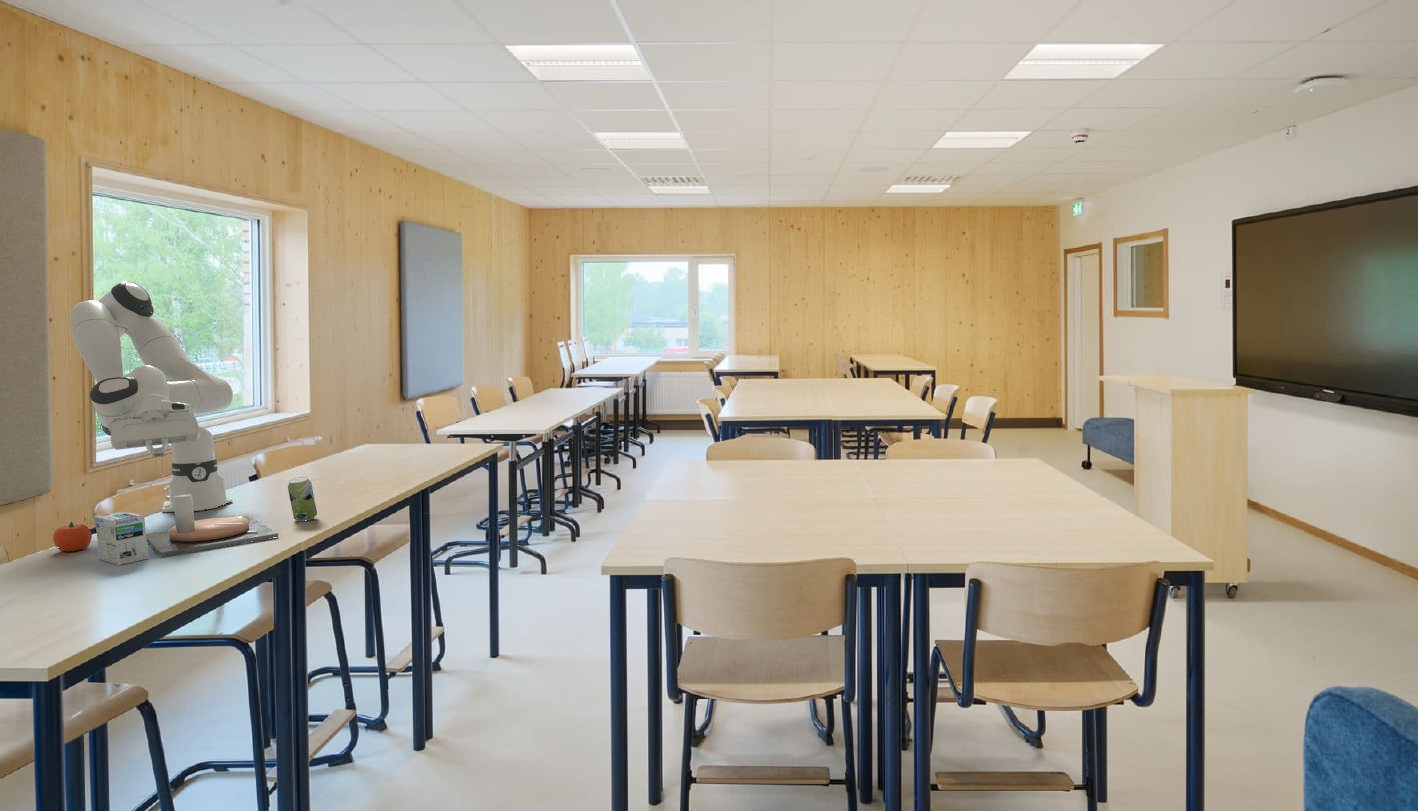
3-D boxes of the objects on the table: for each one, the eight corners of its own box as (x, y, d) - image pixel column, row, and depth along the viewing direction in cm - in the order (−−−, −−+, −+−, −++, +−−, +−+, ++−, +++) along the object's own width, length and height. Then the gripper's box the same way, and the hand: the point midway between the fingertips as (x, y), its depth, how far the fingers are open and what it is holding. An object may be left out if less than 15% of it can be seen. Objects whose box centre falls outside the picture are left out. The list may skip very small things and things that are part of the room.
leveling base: (143, 538, 234) (142, 528, 234) (252, 521, 250) (252, 512, 250) (161, 557, 214) (160, 546, 214) (278, 537, 230) (277, 527, 230)
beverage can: (321, 517, 254) (318, 475, 253) (307, 523, 246) (304, 480, 245) (300, 517, 254) (297, 475, 253) (285, 523, 247) (282, 480, 246)
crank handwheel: (154, 542, 223) (150, 498, 222) (194, 525, 241) (190, 485, 240) (227, 540, 223) (223, 496, 222) (261, 523, 241) (258, 483, 240)
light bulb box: (149, 559, 213) (145, 514, 212) (118, 566, 207) (113, 520, 206) (128, 553, 219) (124, 509, 218) (97, 560, 213) (93, 515, 212)
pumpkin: (99, 548, 225) (96, 519, 224) (63, 556, 218) (60, 526, 217) (83, 545, 229) (80, 516, 228) (48, 552, 222) (44, 523, 221)
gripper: (106, 412, 235) (109, 453, 228) (195, 403, 246) (201, 442, 239) (109, 427, 240) (112, 468, 232) (197, 418, 250) (203, 457, 243)
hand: (158, 455), depth 236 cm, fingers closed
